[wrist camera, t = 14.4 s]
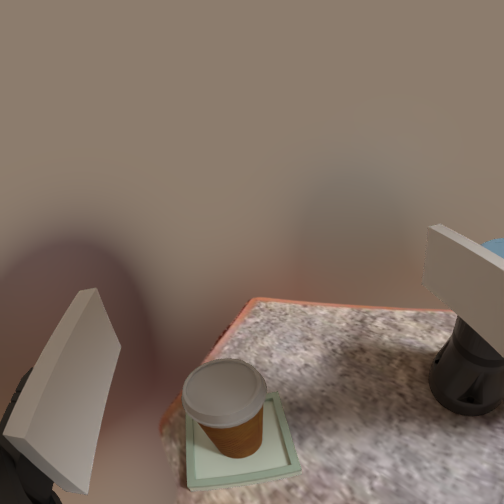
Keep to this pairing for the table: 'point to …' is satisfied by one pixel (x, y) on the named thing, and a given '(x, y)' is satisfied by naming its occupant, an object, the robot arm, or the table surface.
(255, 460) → the coaster plate
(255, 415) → the disposable coffee cup
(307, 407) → the table surface
